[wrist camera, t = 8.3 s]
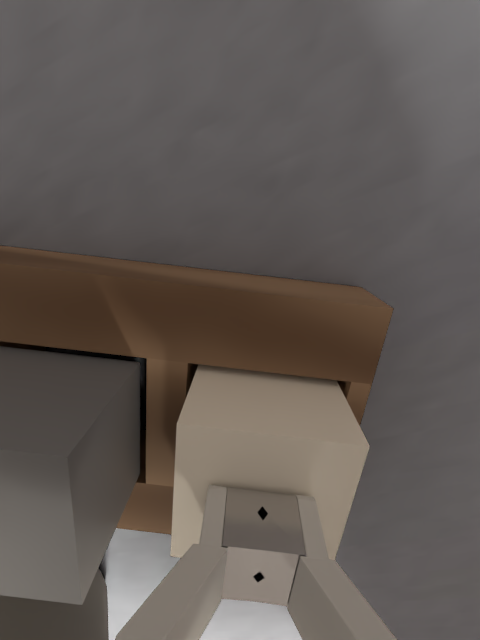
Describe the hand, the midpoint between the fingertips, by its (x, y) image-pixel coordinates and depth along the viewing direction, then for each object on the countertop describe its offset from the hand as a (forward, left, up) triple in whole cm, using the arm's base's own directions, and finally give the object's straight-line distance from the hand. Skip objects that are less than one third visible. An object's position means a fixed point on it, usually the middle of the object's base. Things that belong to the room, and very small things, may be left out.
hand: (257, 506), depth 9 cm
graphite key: (0, +7, -3) cm, 8 cm away
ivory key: (0, 0, -4) cm, 4 cm away
